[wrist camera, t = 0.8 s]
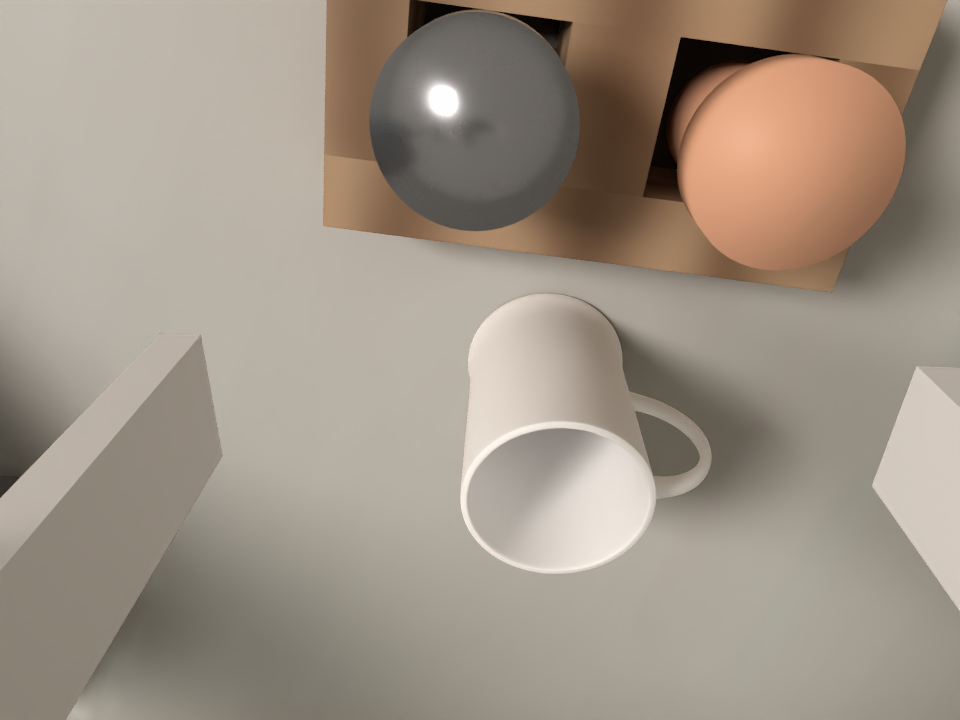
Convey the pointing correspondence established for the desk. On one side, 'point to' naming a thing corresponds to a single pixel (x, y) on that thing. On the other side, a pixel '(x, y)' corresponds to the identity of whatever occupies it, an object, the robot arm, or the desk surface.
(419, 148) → the ball grey
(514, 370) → the mug
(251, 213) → the desk surface
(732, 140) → the peach ball
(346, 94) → the block
